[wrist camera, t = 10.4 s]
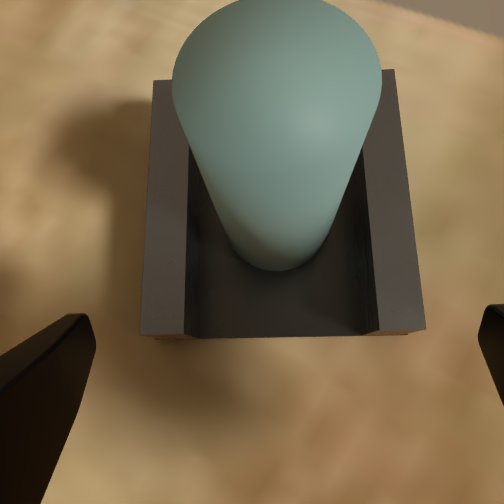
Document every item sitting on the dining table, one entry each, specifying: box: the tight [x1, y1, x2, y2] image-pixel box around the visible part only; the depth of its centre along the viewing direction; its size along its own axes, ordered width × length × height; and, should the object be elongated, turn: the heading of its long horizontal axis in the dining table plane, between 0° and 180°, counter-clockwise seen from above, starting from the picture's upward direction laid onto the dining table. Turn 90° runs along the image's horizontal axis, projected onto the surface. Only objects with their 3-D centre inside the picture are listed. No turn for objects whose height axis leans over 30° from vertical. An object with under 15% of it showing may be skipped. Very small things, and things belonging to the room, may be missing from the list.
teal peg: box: [172, 0, 382, 271], centre depth 13 cm, size 4×4×9 cm
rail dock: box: [139, 69, 426, 340], centre depth 16 cm, size 10×10×3 cm
